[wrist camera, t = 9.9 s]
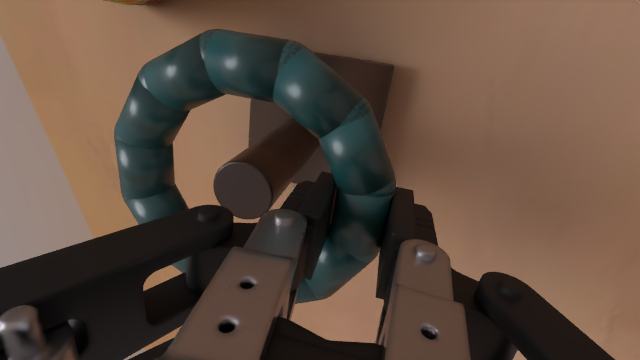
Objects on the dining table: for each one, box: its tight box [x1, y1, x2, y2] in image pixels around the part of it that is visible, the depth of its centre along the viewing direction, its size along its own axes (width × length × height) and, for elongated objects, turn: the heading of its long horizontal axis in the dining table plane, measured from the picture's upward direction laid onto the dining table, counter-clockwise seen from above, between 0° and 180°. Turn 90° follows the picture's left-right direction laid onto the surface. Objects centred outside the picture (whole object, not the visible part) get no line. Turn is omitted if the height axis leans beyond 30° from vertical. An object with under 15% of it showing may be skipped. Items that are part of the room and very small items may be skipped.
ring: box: [114, 29, 396, 304], centre depth 13 cm, size 11×11×2 cm
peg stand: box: [214, 52, 394, 219], centre depth 18 cm, size 9×9×12 cm
